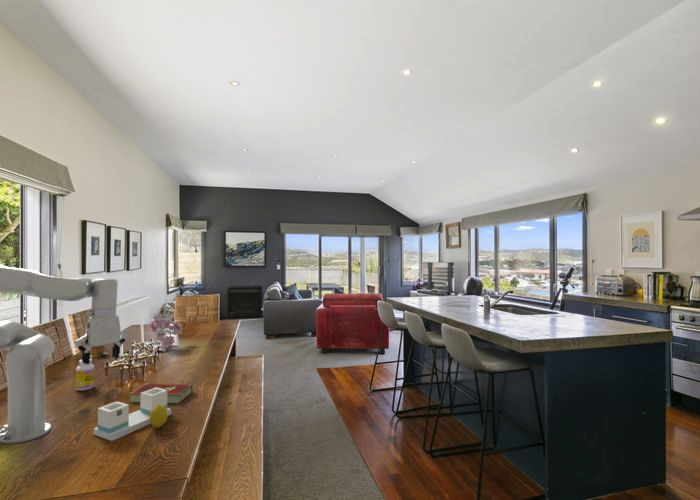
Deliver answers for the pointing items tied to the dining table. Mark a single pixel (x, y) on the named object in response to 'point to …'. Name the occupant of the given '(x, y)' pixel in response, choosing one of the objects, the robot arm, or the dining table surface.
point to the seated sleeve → (152, 399)
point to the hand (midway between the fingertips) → (101, 360)
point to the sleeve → (113, 417)
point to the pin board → (135, 423)
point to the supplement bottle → (84, 376)
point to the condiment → (97, 351)
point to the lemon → (158, 416)
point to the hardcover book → (173, 390)
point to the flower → (160, 325)
